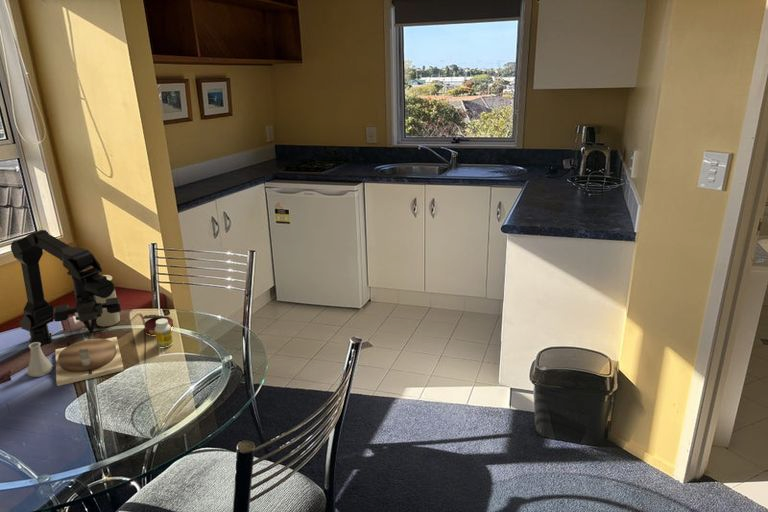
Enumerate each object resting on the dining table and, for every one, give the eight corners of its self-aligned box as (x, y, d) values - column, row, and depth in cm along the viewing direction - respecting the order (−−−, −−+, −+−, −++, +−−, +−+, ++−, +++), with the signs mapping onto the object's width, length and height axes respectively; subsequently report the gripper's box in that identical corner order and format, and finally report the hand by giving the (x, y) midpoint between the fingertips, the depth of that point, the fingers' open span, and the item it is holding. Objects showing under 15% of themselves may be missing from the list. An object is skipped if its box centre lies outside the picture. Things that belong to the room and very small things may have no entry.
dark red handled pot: (146, 343, 205) (132, 320, 203) (168, 329, 212) (155, 307, 210) (160, 339, 197) (147, 315, 195) (183, 325, 205) (170, 302, 203)
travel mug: (105, 329, 204) (97, 285, 197) (92, 323, 208) (84, 279, 201) (124, 320, 210) (117, 277, 203) (111, 314, 214) (104, 272, 207)
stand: (56, 353, 188) (55, 348, 188) (117, 340, 197) (116, 335, 196) (57, 386, 171) (56, 381, 171) (123, 370, 180) (123, 365, 180)
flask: (42, 379, 175) (35, 352, 171) (22, 376, 176) (15, 349, 172) (58, 366, 181) (52, 340, 177) (39, 363, 182) (33, 337, 179)
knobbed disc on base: (61, 349, 187) (57, 331, 185) (116, 339, 194) (113, 322, 191) (56, 376, 173) (52, 357, 170) (116, 365, 179) (113, 347, 177)
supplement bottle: (165, 339, 199) (161, 315, 195) (176, 343, 197) (173, 319, 193) (153, 346, 194) (150, 322, 190) (165, 350, 192) (161, 326, 188)
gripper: (48, 305, 163) (57, 350, 169) (118, 295, 171) (124, 339, 177) (50, 289, 172) (59, 332, 178) (116, 280, 180) (122, 322, 186)
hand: (91, 331), depth 180 cm, fingers closed
